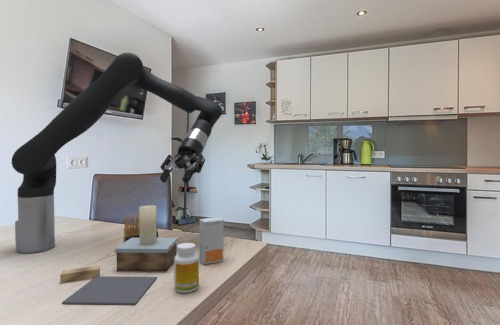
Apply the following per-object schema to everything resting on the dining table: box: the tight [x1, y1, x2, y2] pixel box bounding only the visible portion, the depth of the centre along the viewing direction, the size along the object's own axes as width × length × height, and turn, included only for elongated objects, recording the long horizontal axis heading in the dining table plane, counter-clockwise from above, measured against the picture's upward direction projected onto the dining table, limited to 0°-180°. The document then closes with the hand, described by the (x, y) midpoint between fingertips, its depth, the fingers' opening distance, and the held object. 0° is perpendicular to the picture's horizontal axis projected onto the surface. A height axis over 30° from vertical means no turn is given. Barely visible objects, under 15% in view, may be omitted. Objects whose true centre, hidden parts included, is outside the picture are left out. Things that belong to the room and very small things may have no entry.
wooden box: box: [116, 243, 178, 273], centre depth 76 cm, size 13×9×5 cm
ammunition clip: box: [123, 212, 159, 243], centre depth 88 cm, size 11×2×12 cm, turn 132°
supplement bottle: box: [173, 242, 200, 294], centre depth 62 cm, size 5×5×10 cm
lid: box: [114, 204, 179, 254], centre depth 76 cm, size 14×10×11 cm
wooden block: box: [59, 265, 101, 284], centre depth 67 cm, size 8×2×2 cm, turn 114°
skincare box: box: [198, 216, 225, 265], centre depth 78 cm, size 6×4×12 cm
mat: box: [61, 275, 158, 306], centre depth 61 cm, size 15×12×1 cm
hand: (173, 181), depth 85 cm, fingers open, 8 cm apart
